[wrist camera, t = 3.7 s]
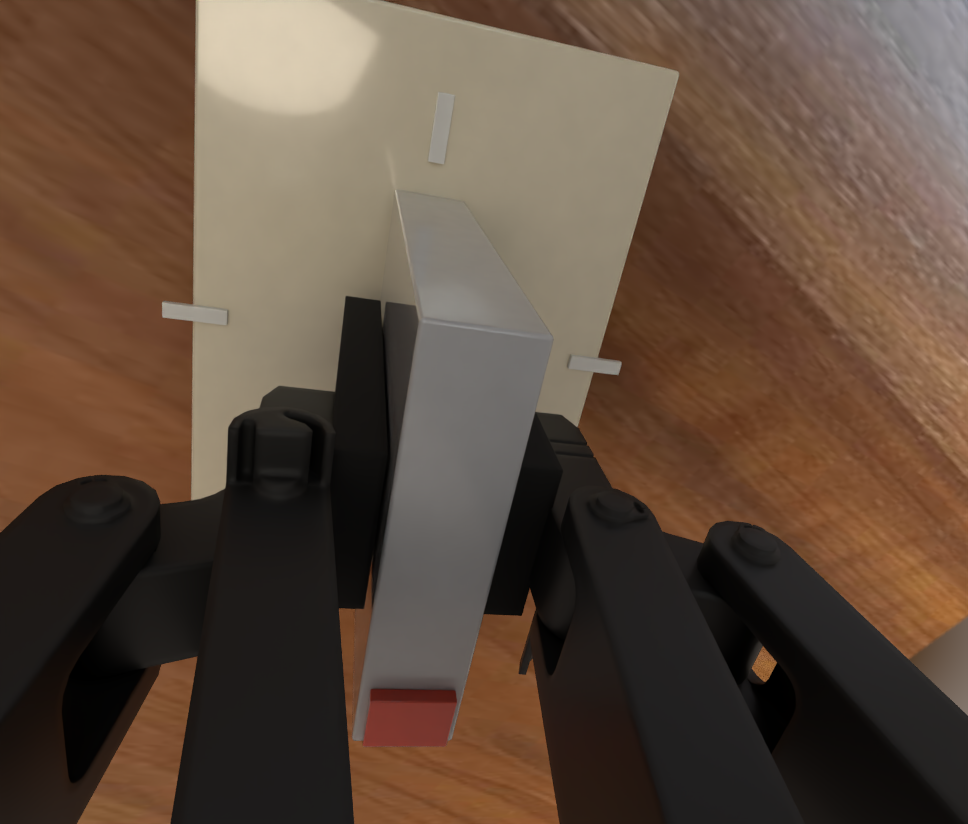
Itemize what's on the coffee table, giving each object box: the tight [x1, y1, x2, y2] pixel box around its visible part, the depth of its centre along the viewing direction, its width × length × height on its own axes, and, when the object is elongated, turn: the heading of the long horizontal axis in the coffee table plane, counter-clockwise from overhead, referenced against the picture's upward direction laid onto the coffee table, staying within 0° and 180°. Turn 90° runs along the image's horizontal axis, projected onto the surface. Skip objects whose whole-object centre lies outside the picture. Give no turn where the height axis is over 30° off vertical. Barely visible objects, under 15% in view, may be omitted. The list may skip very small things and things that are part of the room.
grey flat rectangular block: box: [352, 190, 554, 747], centre depth 13 cm, size 7×2×9 cm, turn 169°
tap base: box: [162, 0, 679, 500], centre depth 18 cm, size 14×11×3 cm
